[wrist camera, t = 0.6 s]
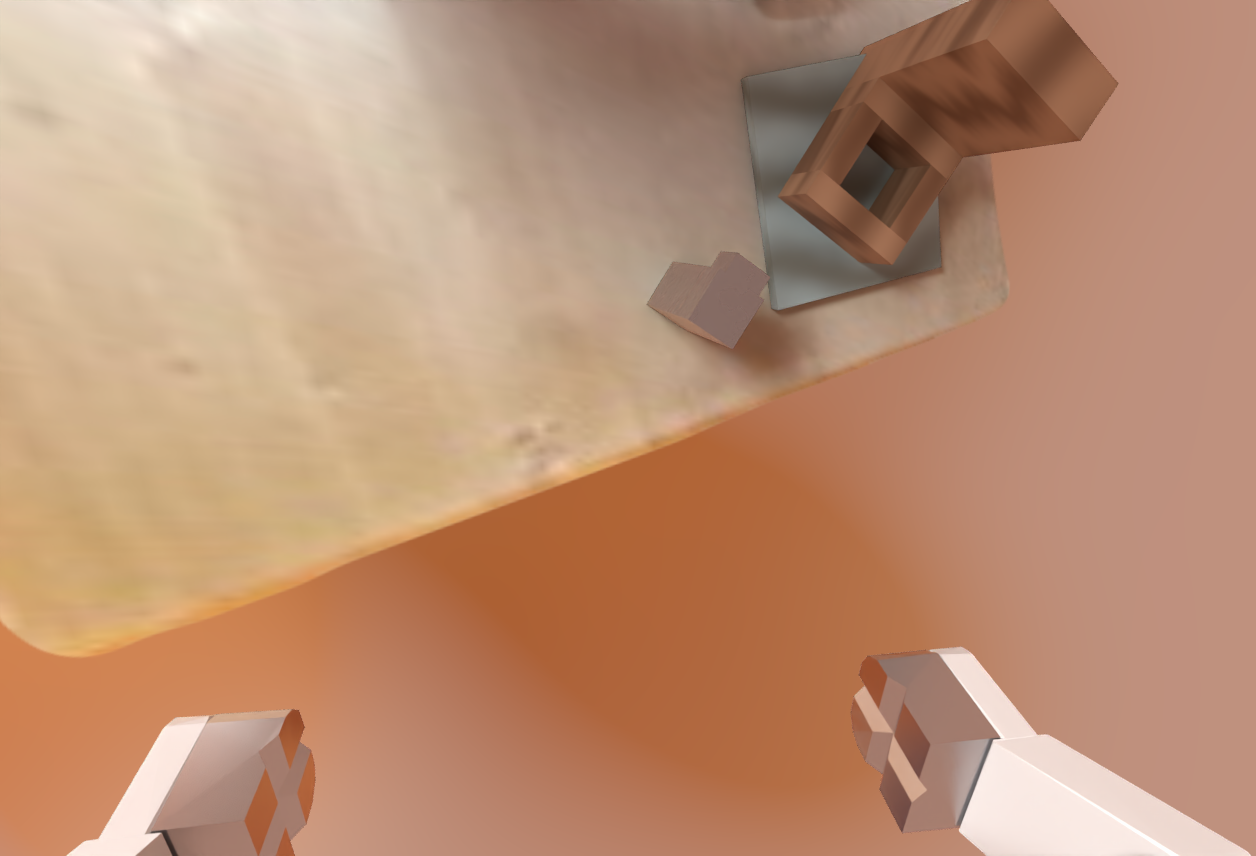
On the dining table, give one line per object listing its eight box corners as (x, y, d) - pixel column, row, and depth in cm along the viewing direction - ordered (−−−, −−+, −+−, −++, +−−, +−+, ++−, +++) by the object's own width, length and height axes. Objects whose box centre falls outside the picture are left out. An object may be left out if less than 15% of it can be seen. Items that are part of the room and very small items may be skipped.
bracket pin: (646, 304, 54) (687, 319, 45) (682, 245, 54) (732, 248, 44) (684, 329, 56) (732, 349, 46) (720, 272, 55) (775, 281, 46)
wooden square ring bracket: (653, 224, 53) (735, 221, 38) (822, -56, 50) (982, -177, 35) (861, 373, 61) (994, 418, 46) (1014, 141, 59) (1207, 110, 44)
